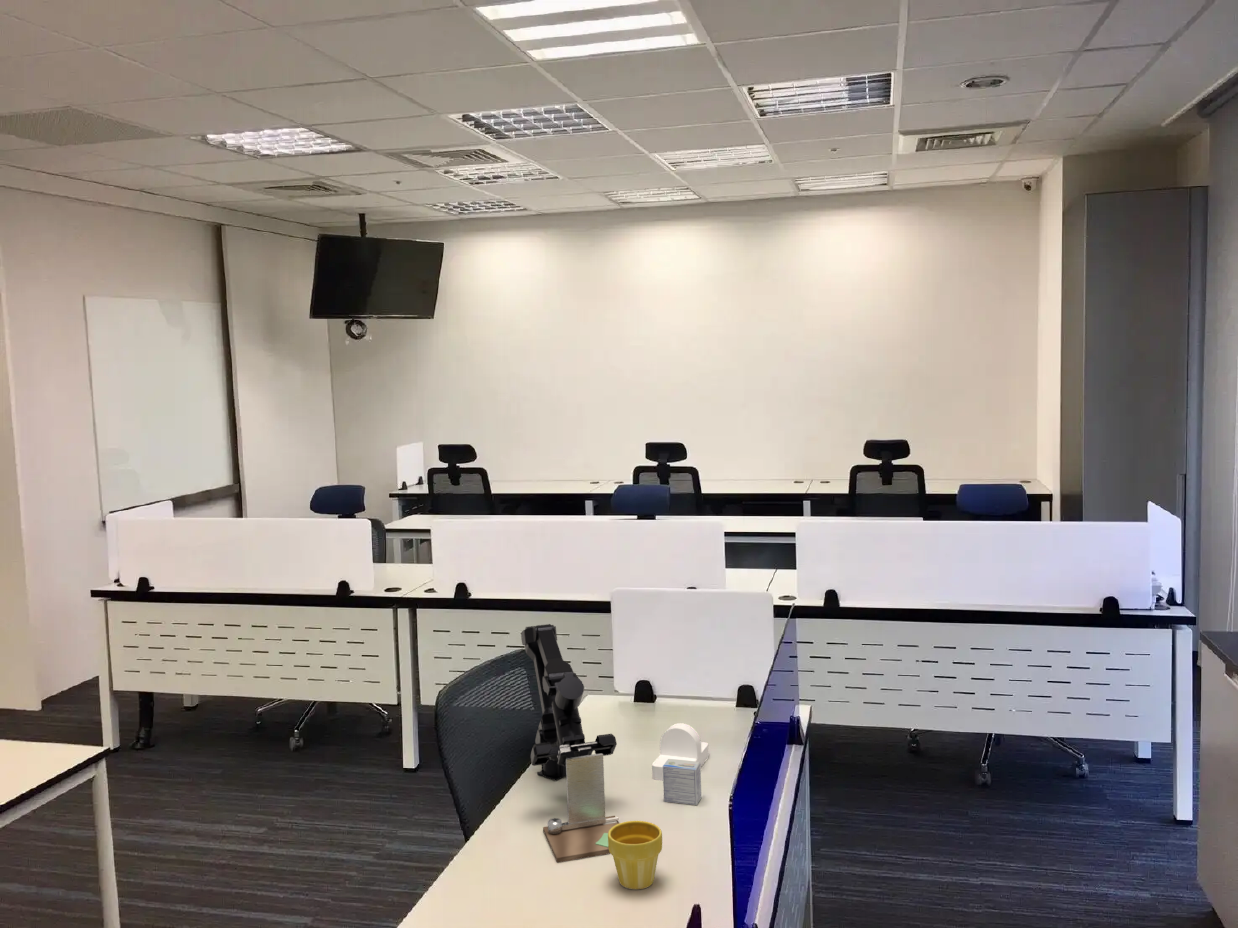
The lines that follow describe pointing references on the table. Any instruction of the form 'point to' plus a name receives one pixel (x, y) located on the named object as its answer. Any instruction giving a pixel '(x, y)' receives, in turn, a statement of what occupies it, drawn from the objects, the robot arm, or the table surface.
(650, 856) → the plant pot
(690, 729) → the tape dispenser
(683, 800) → the medicine box
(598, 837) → the board
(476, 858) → the table surface
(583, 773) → the lever
